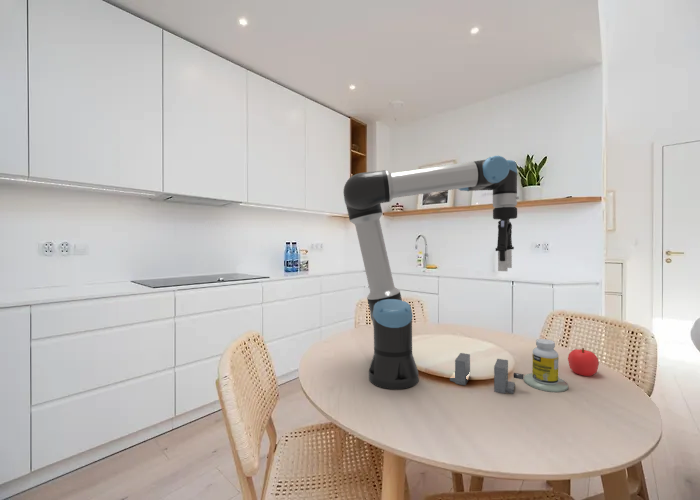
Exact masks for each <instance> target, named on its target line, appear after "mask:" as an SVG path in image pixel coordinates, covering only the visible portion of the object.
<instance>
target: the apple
mask: <svg viewBox="0 0 700 500" xmlns="http://www.w3.org/2000/svg"><path fill="white" fill-rule="evenodd" d="M567 356H568V357H567V361H568V362H567V363H568V364H569V365H568V366H569V369H571V370H572V371H573V372H574V373H575V374H576V375H579V376H584V377H591V376H594V375H595V374H596V373H598V368H599V364H600V362H599V358H598V357H597V356H596V354H595V353H594V352H593V351H591V350H586V349H585V347H582V348H581V349H579V348H575V349H573V350H571V351H570V352H569V353H568V355H567Z"/></svg>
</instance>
